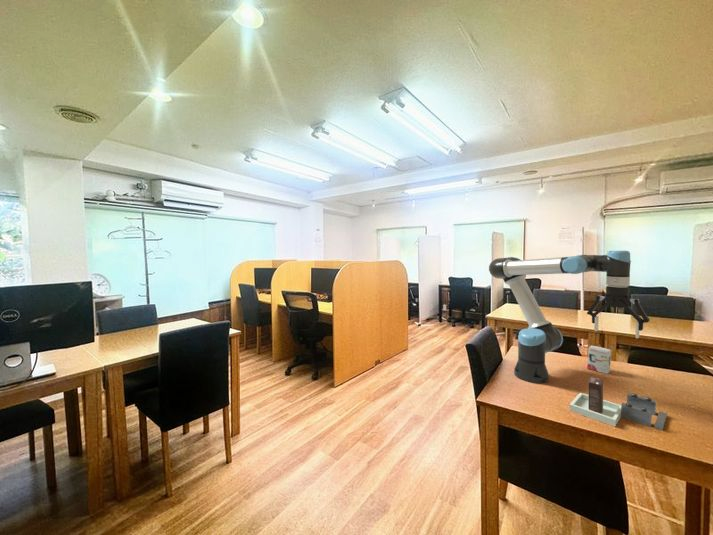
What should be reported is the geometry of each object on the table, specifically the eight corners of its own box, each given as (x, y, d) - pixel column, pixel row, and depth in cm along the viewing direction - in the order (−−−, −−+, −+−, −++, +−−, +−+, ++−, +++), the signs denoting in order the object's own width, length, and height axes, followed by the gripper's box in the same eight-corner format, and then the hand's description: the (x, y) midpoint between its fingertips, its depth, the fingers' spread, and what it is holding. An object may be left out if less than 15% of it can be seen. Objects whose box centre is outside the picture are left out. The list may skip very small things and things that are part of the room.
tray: (569, 410, 116) (569, 404, 116) (579, 398, 125) (580, 392, 124) (615, 426, 105) (615, 420, 105) (623, 412, 114) (623, 406, 113)
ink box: (586, 368, 153) (587, 347, 152) (589, 366, 156) (590, 345, 155) (608, 374, 146) (608, 351, 145) (610, 371, 149) (611, 349, 148)
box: (588, 404, 119) (589, 376, 118) (603, 408, 115) (604, 379, 115) (587, 410, 114) (588, 381, 113) (601, 415, 111) (603, 385, 110)
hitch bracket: (620, 416, 111) (621, 402, 110) (627, 404, 119) (628, 391, 118) (662, 430, 102) (663, 415, 102) (666, 416, 110) (667, 402, 110)
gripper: (579, 284, 132) (578, 329, 134) (657, 290, 112) (654, 342, 114) (584, 282, 137) (583, 326, 138) (660, 287, 117) (658, 338, 118)
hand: (615, 334), depth 126 cm, fingers open, 13 cm apart
